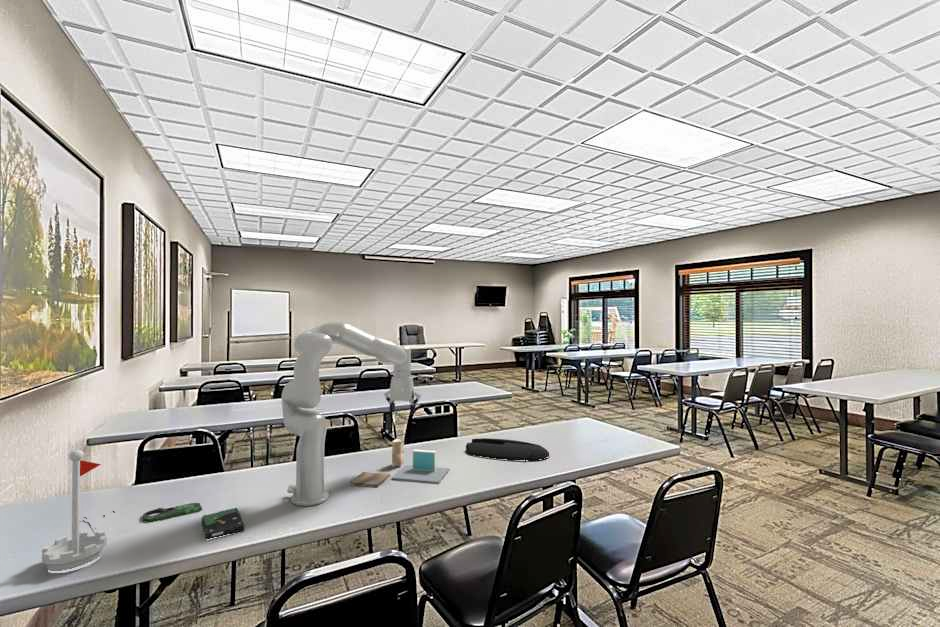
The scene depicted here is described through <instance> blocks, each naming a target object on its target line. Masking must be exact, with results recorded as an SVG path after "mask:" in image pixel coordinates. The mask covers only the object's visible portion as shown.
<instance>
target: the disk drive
mask: <svg viewBox="0 0 940 627" xmlns="http://www.w3.org/2000/svg"><path fill="white" fill-rule="evenodd" d="M201 525H202V530H203V532H205V533H204V536H205V537H206V538H205V540H206V539H210V538H214V537H219V536H223V535H227V534H232V535H234V534H233V533H236V534H238V532H240V533H243V531H244V532H245V522H244V520H243V519H242V515H241V514H240V512H239V510H238V508H237V507H235V508H234V507H233V508H230V509H225V510H221V511H219V512H214V513H209V514H204V515H203V516H202V517H201Z"/></svg>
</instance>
